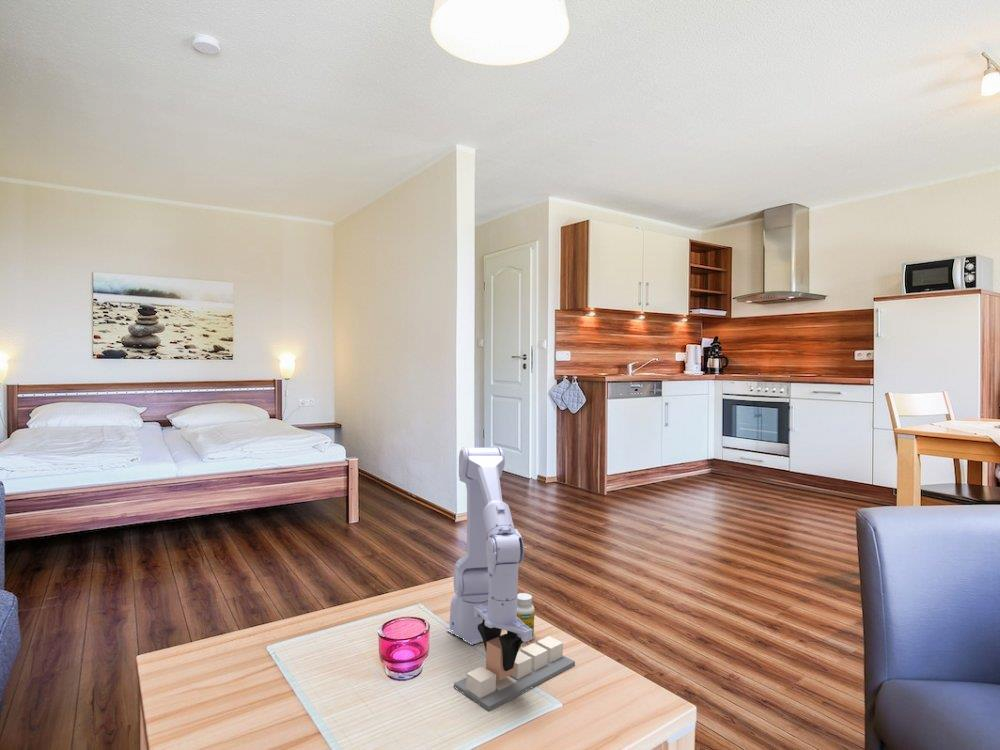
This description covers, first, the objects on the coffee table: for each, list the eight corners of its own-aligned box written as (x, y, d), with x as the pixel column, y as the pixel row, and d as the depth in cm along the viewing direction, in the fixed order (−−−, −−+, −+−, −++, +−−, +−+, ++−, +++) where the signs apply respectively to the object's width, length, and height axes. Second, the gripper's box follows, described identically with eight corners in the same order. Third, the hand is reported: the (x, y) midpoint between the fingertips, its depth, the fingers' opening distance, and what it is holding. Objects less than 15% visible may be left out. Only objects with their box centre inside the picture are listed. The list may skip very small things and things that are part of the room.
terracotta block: (485, 672, 110) (486, 641, 110) (500, 665, 112) (501, 635, 112) (499, 680, 107) (500, 649, 107) (514, 673, 109) (515, 642, 110)
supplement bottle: (524, 630, 134) (526, 590, 134) (538, 639, 129) (539, 598, 129) (506, 635, 131) (507, 594, 131) (519, 644, 126) (521, 602, 126)
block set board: (453, 687, 108) (454, 667, 108) (539, 647, 125) (540, 630, 125) (488, 711, 101) (489, 690, 101) (574, 665, 118) (575, 647, 118)
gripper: (463, 589, 112) (461, 656, 112) (514, 613, 102) (512, 687, 102) (489, 581, 117) (486, 645, 117) (540, 603, 107) (537, 674, 106)
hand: (500, 664), depth 110 cm, fingers closed on terracotta block, 4 cm apart
